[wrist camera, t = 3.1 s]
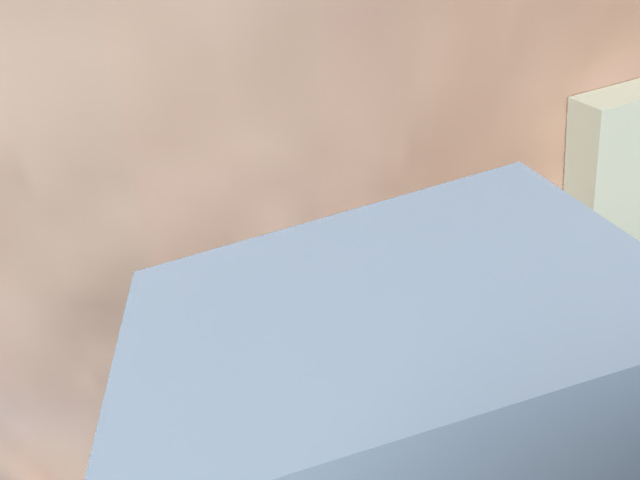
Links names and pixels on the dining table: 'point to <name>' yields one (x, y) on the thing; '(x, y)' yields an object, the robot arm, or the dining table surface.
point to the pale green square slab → (606, 153)
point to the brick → (388, 347)
